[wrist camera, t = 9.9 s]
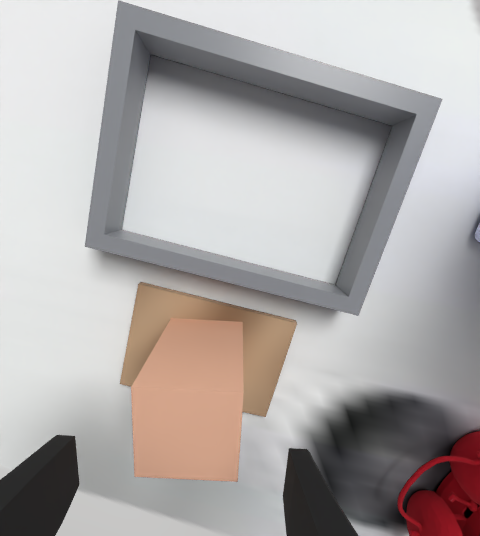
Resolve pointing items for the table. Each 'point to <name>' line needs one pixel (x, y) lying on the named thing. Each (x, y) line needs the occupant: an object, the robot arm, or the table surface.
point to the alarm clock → (448, 495)
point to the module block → (190, 403)
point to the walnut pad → (194, 307)
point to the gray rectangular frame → (270, 77)
